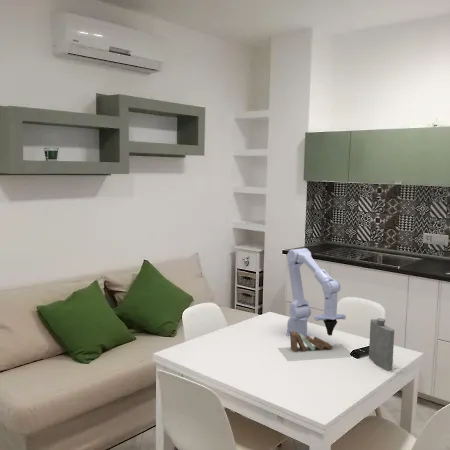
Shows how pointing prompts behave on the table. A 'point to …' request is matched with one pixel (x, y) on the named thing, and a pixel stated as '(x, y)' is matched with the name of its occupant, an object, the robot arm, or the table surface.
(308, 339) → the domino
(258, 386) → the table surface
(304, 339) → the sage domino
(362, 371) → the table surface
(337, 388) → the table surface
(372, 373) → the table surface
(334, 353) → the grey mat
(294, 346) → the domino
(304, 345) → the domino
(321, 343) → the domino
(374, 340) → the hip flask
